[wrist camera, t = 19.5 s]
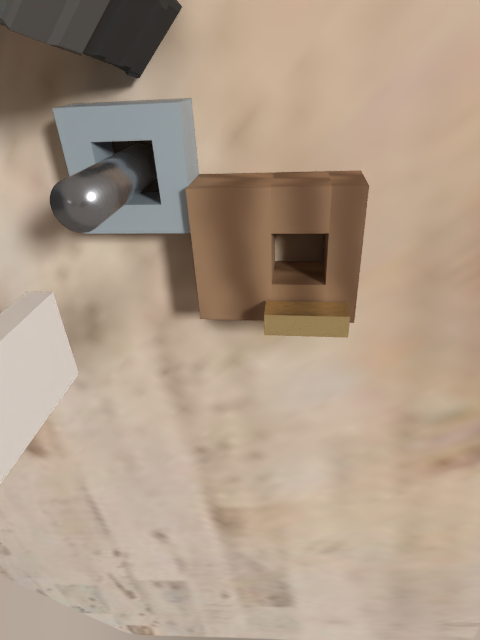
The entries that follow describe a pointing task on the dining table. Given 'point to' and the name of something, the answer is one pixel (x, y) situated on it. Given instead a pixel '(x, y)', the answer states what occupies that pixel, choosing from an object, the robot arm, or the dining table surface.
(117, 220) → the grey square holed block
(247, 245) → the socket block
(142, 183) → the steel round bar
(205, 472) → the dining table surface
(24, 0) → the gun
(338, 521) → the dining table surface
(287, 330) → the tan rectangular bar
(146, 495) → the dining table surface
